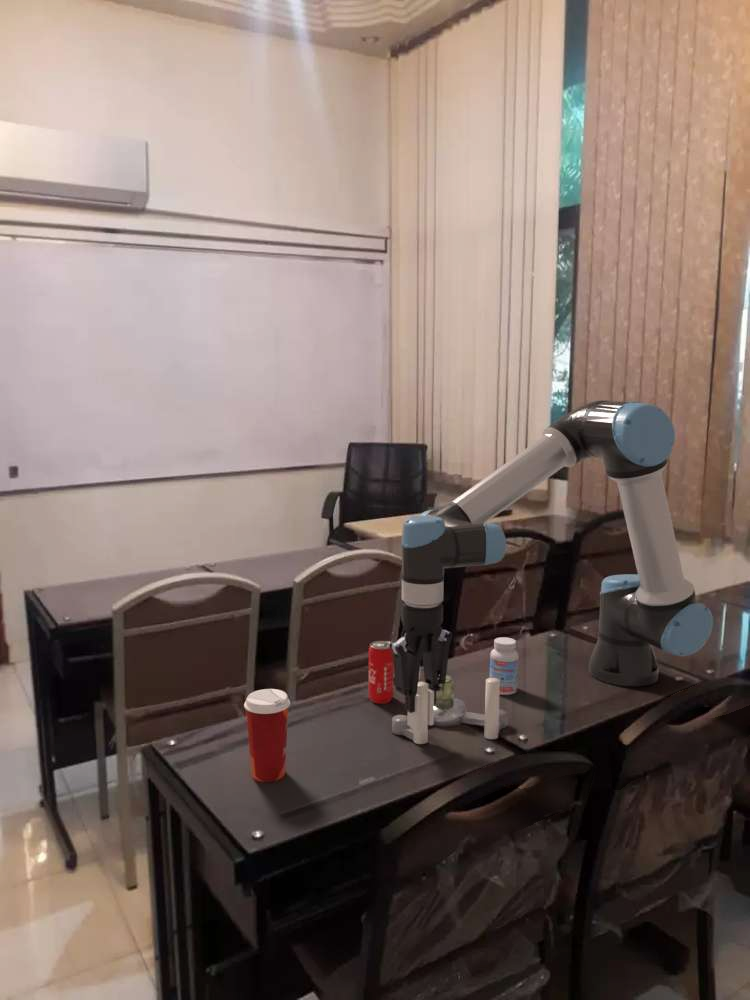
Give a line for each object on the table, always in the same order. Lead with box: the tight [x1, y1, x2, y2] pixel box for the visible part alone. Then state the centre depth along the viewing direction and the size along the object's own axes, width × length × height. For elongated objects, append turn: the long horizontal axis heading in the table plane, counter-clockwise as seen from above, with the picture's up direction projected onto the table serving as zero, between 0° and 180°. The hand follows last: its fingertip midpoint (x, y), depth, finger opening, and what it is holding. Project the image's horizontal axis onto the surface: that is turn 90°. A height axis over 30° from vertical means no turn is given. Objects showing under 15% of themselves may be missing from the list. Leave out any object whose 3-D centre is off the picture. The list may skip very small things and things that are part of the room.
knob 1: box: [391, 682, 429, 745], centre depth 147 cm, size 9×4×11 cm, turn 38°
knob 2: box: [483, 677, 508, 740], centre depth 150 cm, size 9×4×11 cm, turn 159°
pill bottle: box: [489, 636, 520, 696], centre depth 169 cm, size 6×6×11 cm
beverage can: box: [368, 640, 395, 704], centre depth 164 cm, size 5×5×12 cm
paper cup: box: [243, 688, 291, 783], centre depth 133 cm, size 8×8×14 cm
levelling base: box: [428, 674, 485, 727], centre depth 158 cm, size 17×14×8 cm
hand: (420, 724), depth 145 cm, fingers closed on knob 1, 3 cm apart
